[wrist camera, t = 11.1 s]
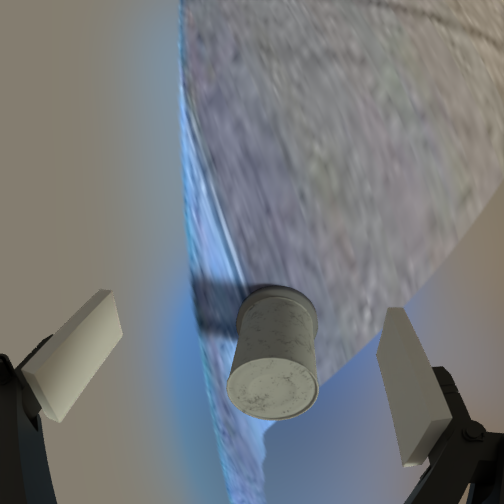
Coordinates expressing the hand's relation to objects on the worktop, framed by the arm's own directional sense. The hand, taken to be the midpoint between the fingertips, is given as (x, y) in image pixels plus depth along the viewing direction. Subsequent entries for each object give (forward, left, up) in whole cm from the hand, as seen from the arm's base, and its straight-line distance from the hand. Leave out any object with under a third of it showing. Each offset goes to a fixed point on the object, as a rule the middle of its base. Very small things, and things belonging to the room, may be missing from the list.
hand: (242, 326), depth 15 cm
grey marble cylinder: (+4, +15, -25) cm, 29 cm away
